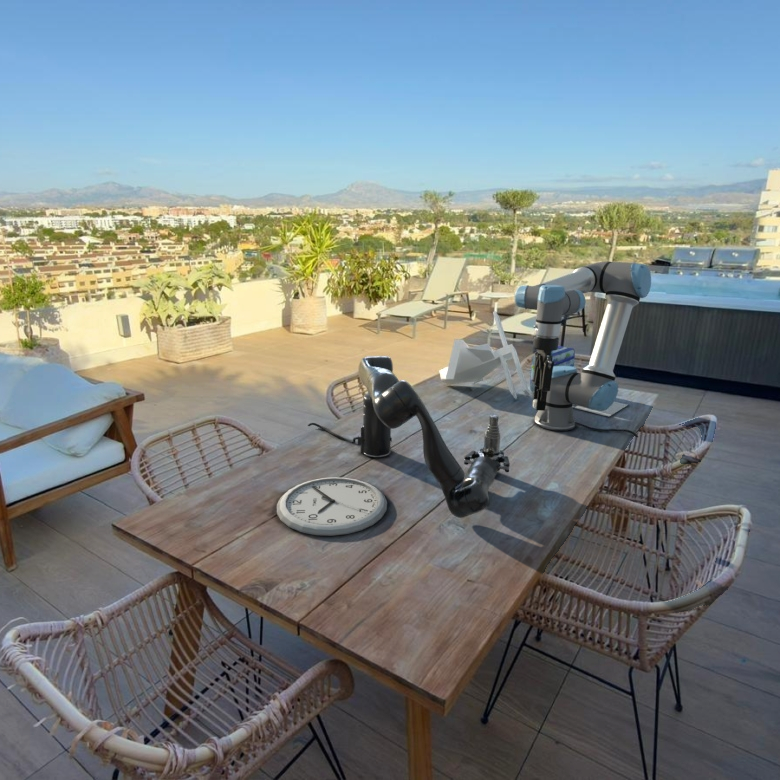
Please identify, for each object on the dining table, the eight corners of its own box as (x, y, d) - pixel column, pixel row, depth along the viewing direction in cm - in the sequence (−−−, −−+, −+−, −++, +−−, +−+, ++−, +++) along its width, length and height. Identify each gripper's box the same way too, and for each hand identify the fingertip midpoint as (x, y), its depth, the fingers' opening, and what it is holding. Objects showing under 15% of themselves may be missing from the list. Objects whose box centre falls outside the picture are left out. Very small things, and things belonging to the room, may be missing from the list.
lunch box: (546, 399, 235) (551, 353, 228) (525, 393, 242) (530, 349, 236) (574, 387, 252) (579, 345, 246) (553, 383, 260) (558, 341, 253)
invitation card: (608, 416, 214) (573, 407, 224) (608, 416, 214) (573, 408, 224) (628, 404, 229) (594, 396, 238) (628, 405, 229) (594, 397, 238)
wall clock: (392, 527, 129) (268, 531, 127) (391, 533, 130) (269, 537, 127) (383, 473, 158) (282, 475, 155) (383, 478, 158) (282, 480, 156)
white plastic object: (461, 429, 252) (437, 405, 227) (444, 352, 274) (420, 323, 250) (535, 404, 240) (518, 377, 215) (510, 326, 262) (492, 293, 237)
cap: (541, 405, 170) (542, 398, 170) (547, 408, 167) (548, 402, 166) (530, 405, 170) (531, 399, 169) (536, 409, 166) (536, 402, 165)
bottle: (498, 476, 161) (503, 418, 156) (483, 476, 161) (487, 418, 156) (495, 469, 166) (500, 413, 160) (480, 469, 166) (485, 413, 160)
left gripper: (507, 466, 145) (516, 444, 160) (457, 457, 150) (471, 437, 165) (505, 490, 148) (514, 466, 163) (456, 481, 152) (469, 458, 168)
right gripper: (528, 330, 169) (521, 399, 176) (541, 341, 153) (533, 416, 160) (551, 331, 169) (543, 400, 176) (567, 342, 153) (558, 417, 160)
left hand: (492, 451), depth 164 cm, fingers closed on bottle, 4 cm apart
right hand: (538, 407), depth 168 cm, fingers closed on cap, 4 cm apart
